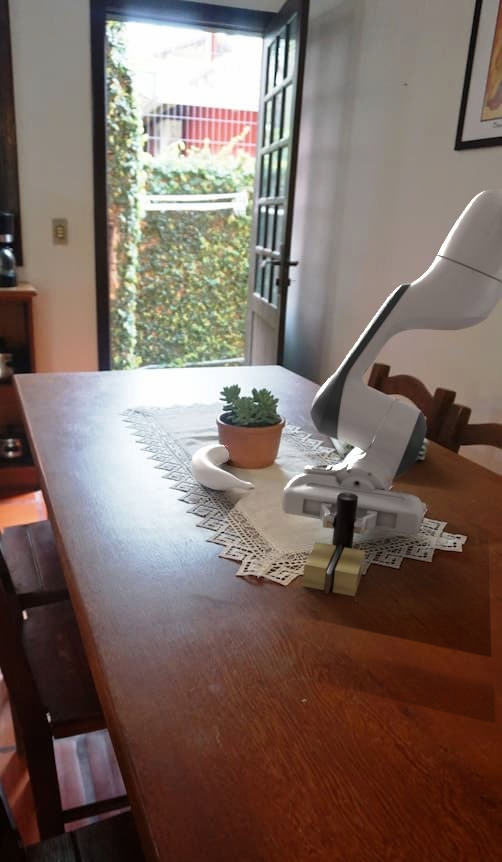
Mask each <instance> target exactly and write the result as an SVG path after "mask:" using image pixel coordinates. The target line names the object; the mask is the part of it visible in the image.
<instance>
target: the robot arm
mask: <svg viewBox="0 0 502 862" xmlns="http://www.w3.org/2000/svg"><path fill="white" fill-rule="evenodd" d="M501 299H502V188H492V189H491V188H490V189H487V190H484V191H482V192H480V193H478V194H477V195H476V196H474V197H473V198H472V199H471V201H470V202H469V204H467V206H466V207H465V209H464V210H463V212H462V213H461V215H460V216H459V217H458V219H457V220H456V222H455V224H454V225H453V227H452V229H451V230H450V232H449V233H448V235H447V237H446V238H445V240H444V242H443V244H442V246H441V247H440V249H439V252H438V254H437V256H436V257H435V258H434V261H433V262H432V264H431V266H430V267H429V268H428V269H427V270H426V272H425V273H424V274H423V275H421V276H420V277H419V278H418V279H416V280H414V281H413V282H409V283H402V284H401V285H399V286H398V287H397V288H396V289H395V290H394V291H393V292H392V293H391V294H390V295H389V296H388V297H387V299H386V300H385V302H384V303H383V305H382V306H381V307H380V308H379V310H378V311H377V313H376V314H375V316H374V317H373V318H372V319H371V321H370V322H369V324H368V325H367V327H366V328H365V330H364V331H363V333H362V334H361V335H360V336H359V338H358V339H357V341H356V342H355V344H354V346H353V347H352V348H351V350H349V352H348V354H347V355H346V357H345V358H344V359H343V361H342V362H341V364H340V365H339V366H338V368H337V369H336V371H335V372H334V374H332V375H331V376H330V378H328V379H327V380H326V381H325V383H324V384H323V385H322V386H321V387H320V388H319V390H318V391H317V393H316V395H315V396H314V399H313V401H312V403H311V407H310V411H309V413H310V417H311V421H312V422H313V425H314V427H315V428H316V430H317V432H318V433H319V434H321V435H323V436H326V437H329V438H330V437H332V438H334V439H337V440H338V439H339V440H341V441H343V442H346V443H348V444H350V445H352V446H354V447H356V448H354V449H353V450H352V451H351V452H350V453H349V454H348V455H347V456H346V458H345V459H344V458H343V460H342V462H341V463H338V464H337V463H336V464H318V465H317V464H313V465H312V464H308V465H306V466H304V469H303V473H300V474H298V475H296V476H294V477H293V478H292V479H291V480H290V481H289V482H288V483H287V484H286V486H285V487H284V489H283V491H282V498H281V510H282V511H283V512H284V513H285V514H287V515H293V516H299V517H305V518H310V519H316V520H320V521H321V522H322V528H324V529H331V530H334V522H335V513H336V503H337V495H338V494H339V493H344V492H347V493H353V494H355V495H357V496H358V503H357V511H356V520H355V522H354V529H353V533H354V534H359V535H365V532H366V531H369V530H373V529H375V530H382V531H388V532H392V533H398V534H404V535H409V536H410V535H411V536H413V535H417V534H419V533H420V531H421V528H422V522H423V515H424V514H425V513H426V512H427V509H428V508H427V504H426V503H425V502H422V500H421V499H420V498H419V496H416V495H414V494H411V493H406V492H405V493H404V492H398V491H392V490H390V489H391V486H392V484H393V480H394V479H397V478H400V477H402V476H404V475H405V474H407V473H408V472H409V471H410V469H412V467H413V465H414V463H415V462H416V461H415V460H416V459H417V457H418V455H419V452H420V450H421V448H422V445H423V442H424V439H426V434H427V431H428V427H427V426H428V425H427V421H426V417H425V414H424V412H423V411H422V409H420V408H417V407H415V406H413V405H411V404H409V403H407V402H405V401H403V400H400V399H399V398H396V397H393V396H390V395H388V394H386V393H384V392H381V391H379V390H377V389H375V388H374V387H371V386H369V385H367V384H366V383H365V382H364V381H363V377H364V375H365V374H366V373H367V371H368V370H369V368H370V367H371V365H372V364H373V363H374V361H375V360H376V359H377V357H378V356H379V355H380V353H381V352H382V350H383V349H384V348H385V346H386V345H387V343H388V342H389V341H390V340H391V339H392V338H393V337H394V336H395V335H397V334H399V333H402V332H406V331H410V330H411V331H412V330H429V331H431V330H432V331H459V330H465V329H469V328H472V327H475V326H477V325H478V324H480V323H482V322H484V321H485V320H487V319H488V318H489V316H490V315H491V314H492V313H493V311H494V310H495V308H496V307H497V306H498V304H499V302H500V301H501ZM385 416H386V417H385Z"/></svg>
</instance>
